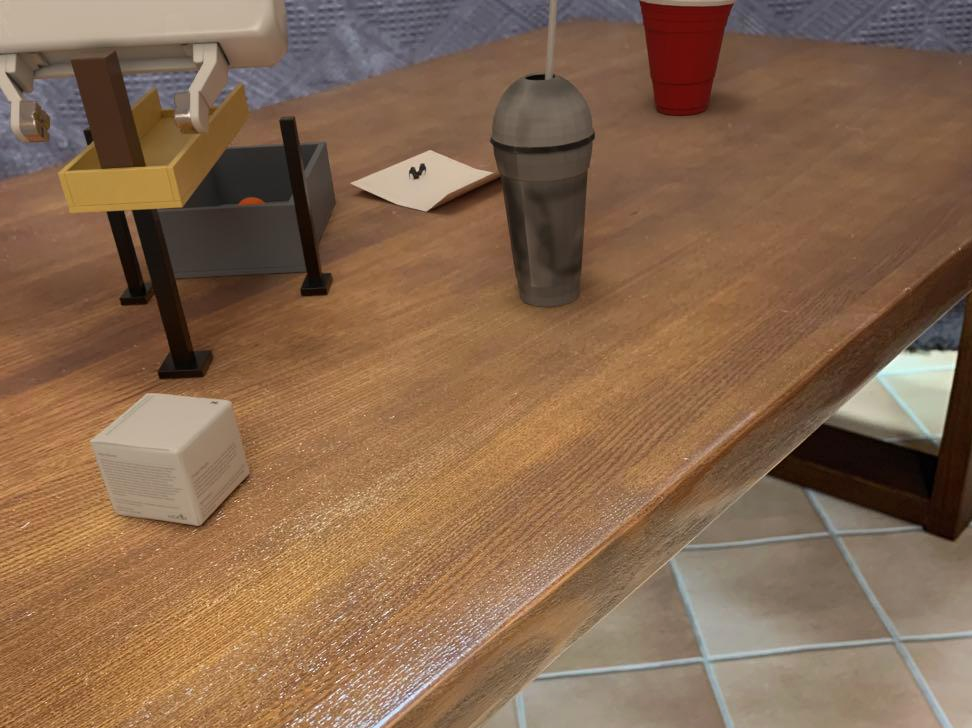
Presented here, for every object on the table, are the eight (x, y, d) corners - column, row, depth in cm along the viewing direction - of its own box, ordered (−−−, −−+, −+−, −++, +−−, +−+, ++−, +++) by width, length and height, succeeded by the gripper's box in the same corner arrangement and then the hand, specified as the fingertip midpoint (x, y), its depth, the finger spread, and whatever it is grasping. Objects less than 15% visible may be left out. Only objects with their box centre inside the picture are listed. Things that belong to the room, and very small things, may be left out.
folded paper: (431, 161, 110) (429, 141, 109) (527, 178, 104) (526, 157, 103) (349, 195, 102) (346, 174, 101) (448, 216, 96) (446, 194, 95)
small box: (167, 462, 64) (146, 388, 61) (253, 474, 62) (235, 398, 59) (110, 516, 59) (84, 439, 56) (201, 530, 58) (179, 451, 55)
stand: (299, 372, 72) (261, 181, 65) (63, 384, 73) (-2, 195, 65) (332, 279, 85) (304, 111, 78) (132, 290, 86) (84, 123, 78)
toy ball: (224, 221, 91) (232, 212, 94) (254, 244, 92) (261, 235, 95) (244, 194, 90) (252, 186, 93) (274, 218, 91) (281, 209, 94)
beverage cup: (487, 287, 83) (464, -1, 71) (573, 268, 85) (565, -13, 73) (523, 322, 77) (505, 17, 65) (614, 301, 79) (612, 2, 68)
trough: (182, 207, 64) (145, 56, 59) (69, 213, 64) (23, 63, 59) (250, 116, 80) (225, -8, 75) (159, 121, 81) (129, -2, 76)
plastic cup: (752, 108, 120) (760, -11, 113) (677, 127, 115) (680, 4, 108) (688, 91, 127) (692, -22, 120) (615, 108, 123) (615, -9, 116)
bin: (306, 272, 87) (294, 204, 84) (168, 279, 87) (151, 212, 84) (335, 201, 101) (326, 141, 98) (216, 207, 101) (203, 147, 98)
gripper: (-88, -110, 62) (-100, 113, 60) (266, -130, 61) (268, 93, 59) (-28, -35, 68) (-37, 169, 66) (294, -53, 68) (296, 152, 65)
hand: (110, 133), depth 63 cm, fingers open, 8 cm apart
